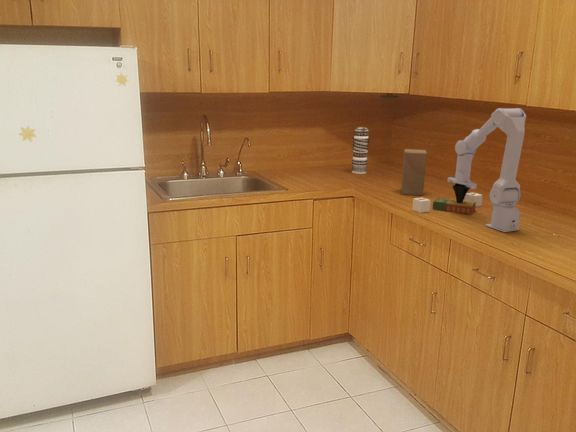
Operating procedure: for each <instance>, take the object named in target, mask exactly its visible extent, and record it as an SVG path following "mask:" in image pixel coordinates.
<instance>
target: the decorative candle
mask: <svg viewBox="0 0 576 432" xmlns="http://www.w3.org/2000/svg"><path fill="white" fill-rule="evenodd" d="M369 143H370V138H369V129H368V128H367V126H365V127H364V126H357V127H355V129H354V135H353V137H352V146H353V147H352V152H353V155H352V161H351V162H352V163H351V164H352V165H351V174H352V173H353V174H356V175H357V174H359V175H360V174H361V175H364V174H366V173H368V172H367V171H368V169H367V168H368V166H367V165H368V157H367V156H368V152H369V151H368V150H369V145H368V144H369Z"/></svg>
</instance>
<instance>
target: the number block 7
mask: <svg viewBox="0 0 576 432" xmlns="http://www.w3.org/2000/svg"><path fill="white" fill-rule="evenodd" d="M483 196H484V195H483V194H480V193H477V192H469V193H468V192H467V193H466V195H465V197H464V200H465V201H473V202H476V205H475V208H477V207H482V203H483Z"/></svg>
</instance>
